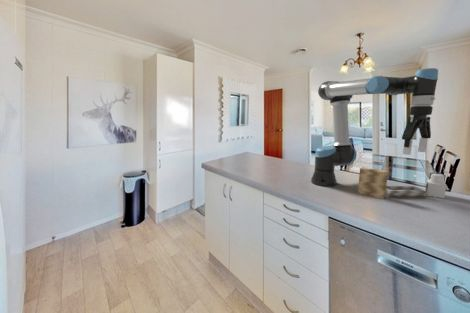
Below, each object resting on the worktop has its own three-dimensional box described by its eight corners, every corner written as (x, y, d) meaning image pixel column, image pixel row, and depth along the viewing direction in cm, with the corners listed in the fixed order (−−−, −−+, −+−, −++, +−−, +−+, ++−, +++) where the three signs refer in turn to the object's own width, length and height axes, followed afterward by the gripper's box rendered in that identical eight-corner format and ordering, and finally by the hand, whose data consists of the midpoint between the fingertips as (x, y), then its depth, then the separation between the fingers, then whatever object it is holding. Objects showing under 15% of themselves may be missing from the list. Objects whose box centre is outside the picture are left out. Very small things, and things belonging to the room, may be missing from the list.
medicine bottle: (425, 192, 119) (428, 171, 117) (442, 194, 115) (446, 173, 113) (425, 195, 114) (429, 173, 112) (444, 198, 110) (448, 176, 107)
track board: (389, 197, 112) (389, 190, 112) (379, 191, 121) (379, 185, 121) (425, 197, 111) (426, 191, 110) (413, 192, 120) (414, 186, 119)
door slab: (357, 192, 120) (360, 168, 117) (360, 191, 122) (362, 167, 120) (382, 198, 111) (385, 172, 108) (385, 196, 113) (388, 171, 111)
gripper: (417, 105, 86) (409, 157, 90) (445, 105, 97) (437, 151, 101) (396, 106, 93) (390, 154, 97) (424, 106, 104) (418, 149, 108)
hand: (414, 153), depth 99 cm, fingers open, 13 cm apart
